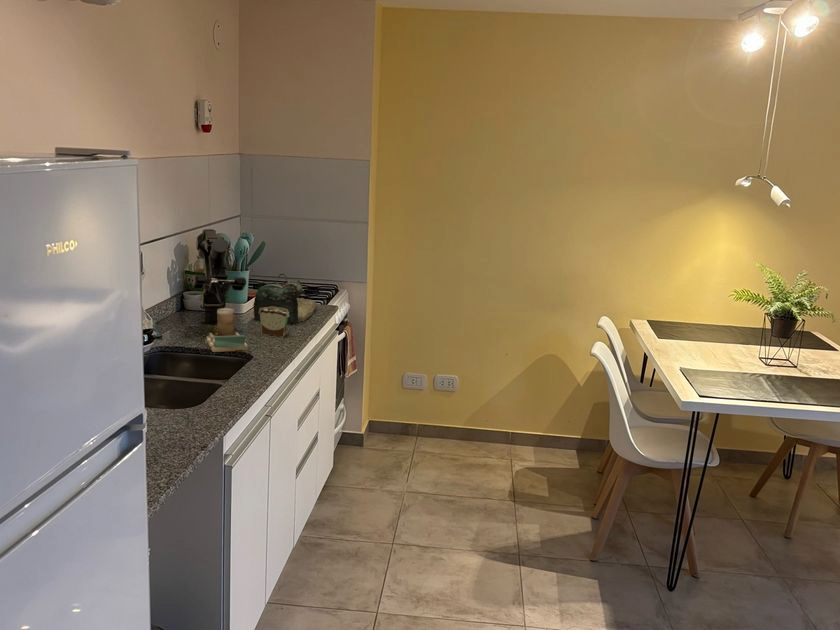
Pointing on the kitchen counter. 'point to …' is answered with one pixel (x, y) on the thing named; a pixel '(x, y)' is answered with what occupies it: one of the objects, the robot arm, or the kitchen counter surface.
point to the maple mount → (227, 342)
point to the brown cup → (225, 322)
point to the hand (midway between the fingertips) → (221, 302)
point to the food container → (273, 321)
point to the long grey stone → (305, 308)
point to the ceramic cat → (279, 298)
